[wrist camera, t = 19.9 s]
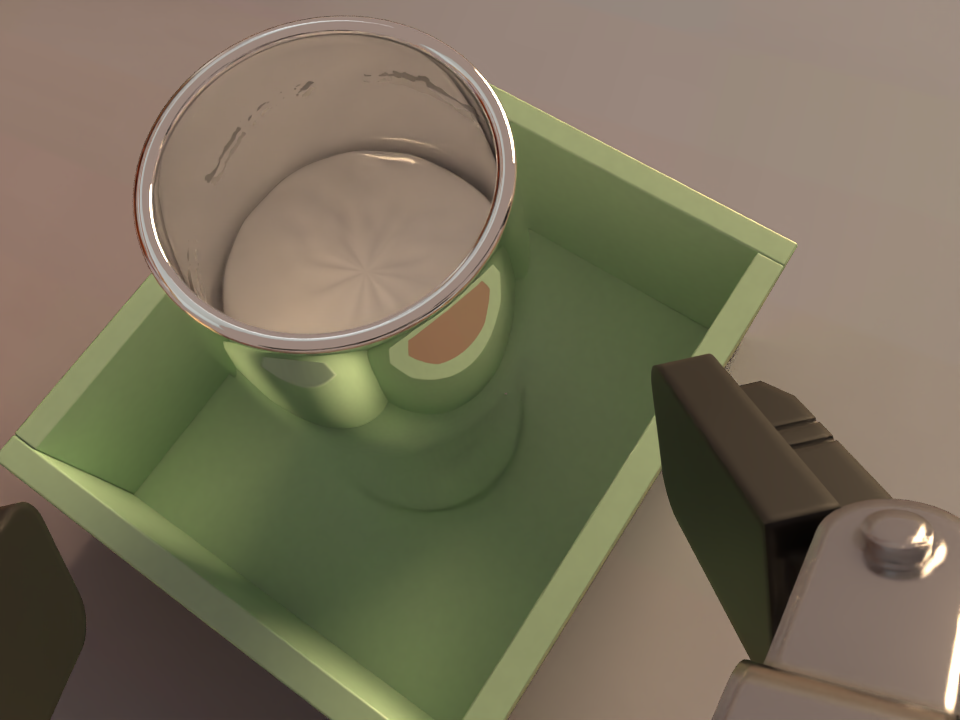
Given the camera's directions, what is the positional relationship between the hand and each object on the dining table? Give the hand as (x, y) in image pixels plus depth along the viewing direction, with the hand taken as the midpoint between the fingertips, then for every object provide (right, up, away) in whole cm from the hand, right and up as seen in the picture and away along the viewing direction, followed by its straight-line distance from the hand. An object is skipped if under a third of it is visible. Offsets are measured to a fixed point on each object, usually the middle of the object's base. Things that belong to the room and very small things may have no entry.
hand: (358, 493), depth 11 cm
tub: (0, 0, +18) cm, 18 cm away
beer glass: (0, 0, +18) cm, 18 cm away
